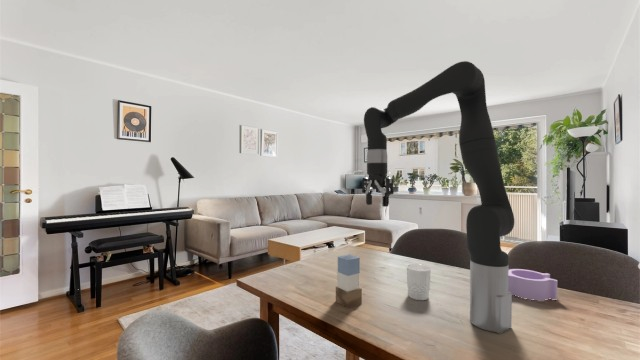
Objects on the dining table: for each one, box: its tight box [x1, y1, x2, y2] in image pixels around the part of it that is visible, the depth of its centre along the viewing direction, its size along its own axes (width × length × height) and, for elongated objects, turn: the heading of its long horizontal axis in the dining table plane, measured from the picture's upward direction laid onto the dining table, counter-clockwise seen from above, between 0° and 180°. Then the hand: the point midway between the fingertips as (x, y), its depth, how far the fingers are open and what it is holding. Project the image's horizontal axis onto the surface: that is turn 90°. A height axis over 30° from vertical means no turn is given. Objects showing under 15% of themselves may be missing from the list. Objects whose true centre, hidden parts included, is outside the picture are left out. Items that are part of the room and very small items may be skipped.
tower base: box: [335, 285, 363, 309], centre depth 96 cm, size 6×6×5 cm
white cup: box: [406, 263, 432, 301], centre depth 101 cm, size 8×8×10 cm
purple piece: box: [508, 268, 558, 300], centre depth 104 cm, size 20×12×7 cm, turn 70°
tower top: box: [336, 271, 360, 292], centre depth 96 cm, size 5×5×5 cm
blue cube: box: [337, 254, 361, 276], centre depth 96 cm, size 5×5×5 cm
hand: (376, 205), depth 111 cm, fingers open, 8 cm apart
